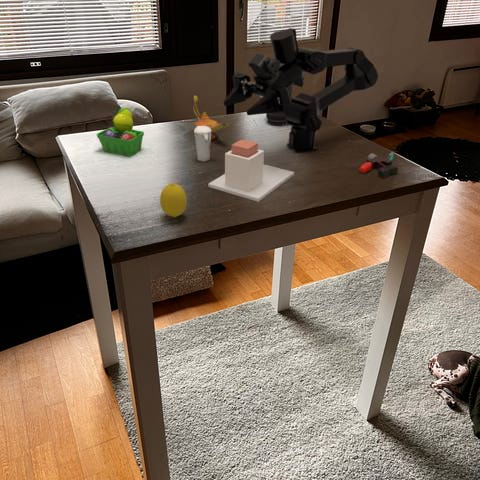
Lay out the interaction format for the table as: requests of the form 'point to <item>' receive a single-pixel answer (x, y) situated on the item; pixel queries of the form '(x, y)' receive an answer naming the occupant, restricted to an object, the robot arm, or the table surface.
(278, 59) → the robot arm
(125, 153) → the fruit basket
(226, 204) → the table surface
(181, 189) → the lemon
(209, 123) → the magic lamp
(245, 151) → the salmon pink square block
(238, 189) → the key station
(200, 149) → the takeaway coffee cup
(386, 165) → the toy gun
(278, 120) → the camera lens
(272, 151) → the table surface
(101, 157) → the table surface
